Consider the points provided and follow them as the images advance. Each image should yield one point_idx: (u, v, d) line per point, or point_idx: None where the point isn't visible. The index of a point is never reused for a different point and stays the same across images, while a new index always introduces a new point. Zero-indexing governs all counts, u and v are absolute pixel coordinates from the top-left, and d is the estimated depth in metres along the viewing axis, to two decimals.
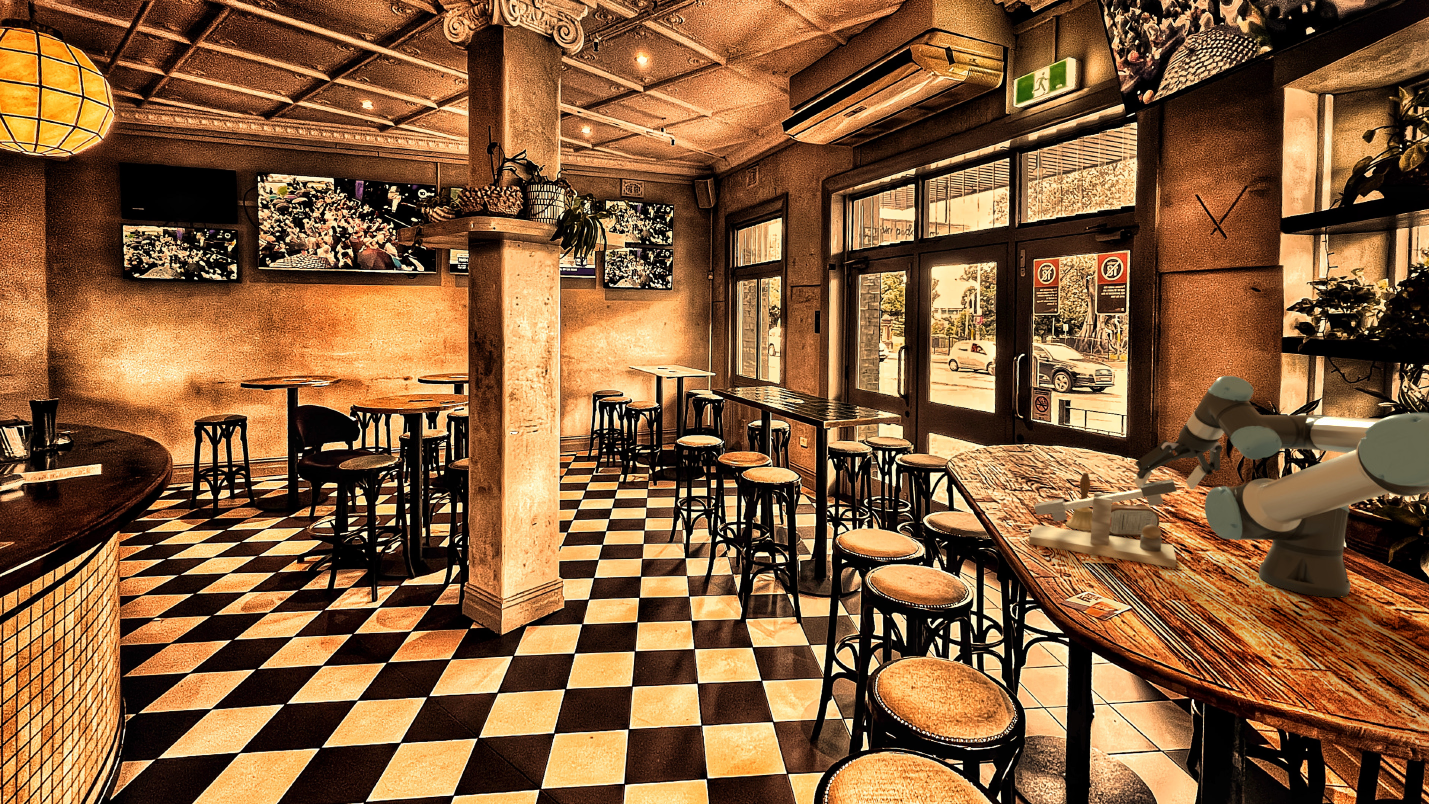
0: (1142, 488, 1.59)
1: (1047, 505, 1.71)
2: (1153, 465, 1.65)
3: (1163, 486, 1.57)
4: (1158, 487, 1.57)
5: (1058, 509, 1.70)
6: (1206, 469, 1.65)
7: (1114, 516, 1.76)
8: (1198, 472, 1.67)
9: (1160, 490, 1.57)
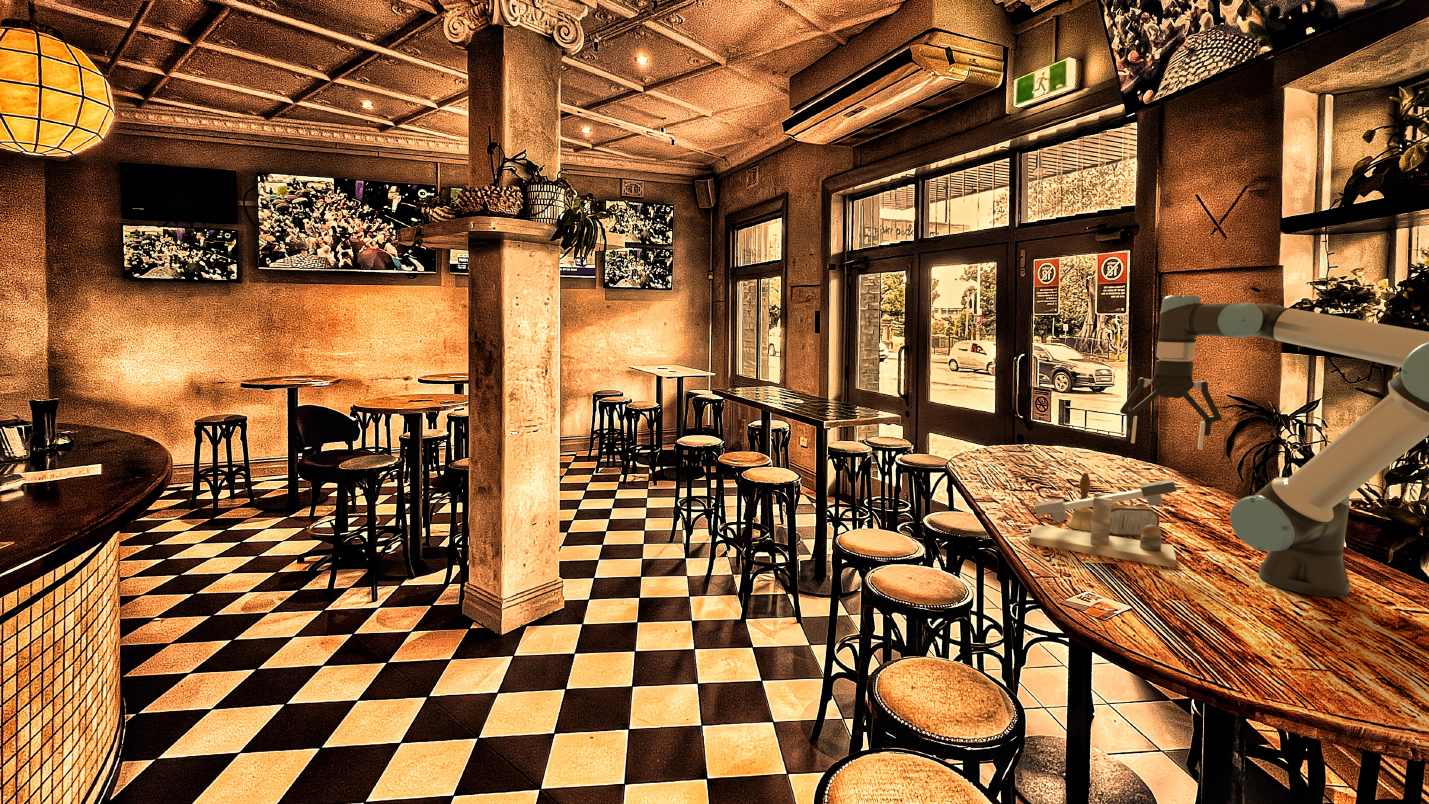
0: (1142, 488, 1.59)
1: (1047, 505, 1.71)
2: (1135, 407, 1.59)
3: (1163, 486, 1.57)
4: (1158, 487, 1.57)
5: (1058, 509, 1.70)
6: (1203, 417, 1.52)
7: (1114, 516, 1.76)
8: (1200, 426, 1.53)
9: (1160, 490, 1.57)
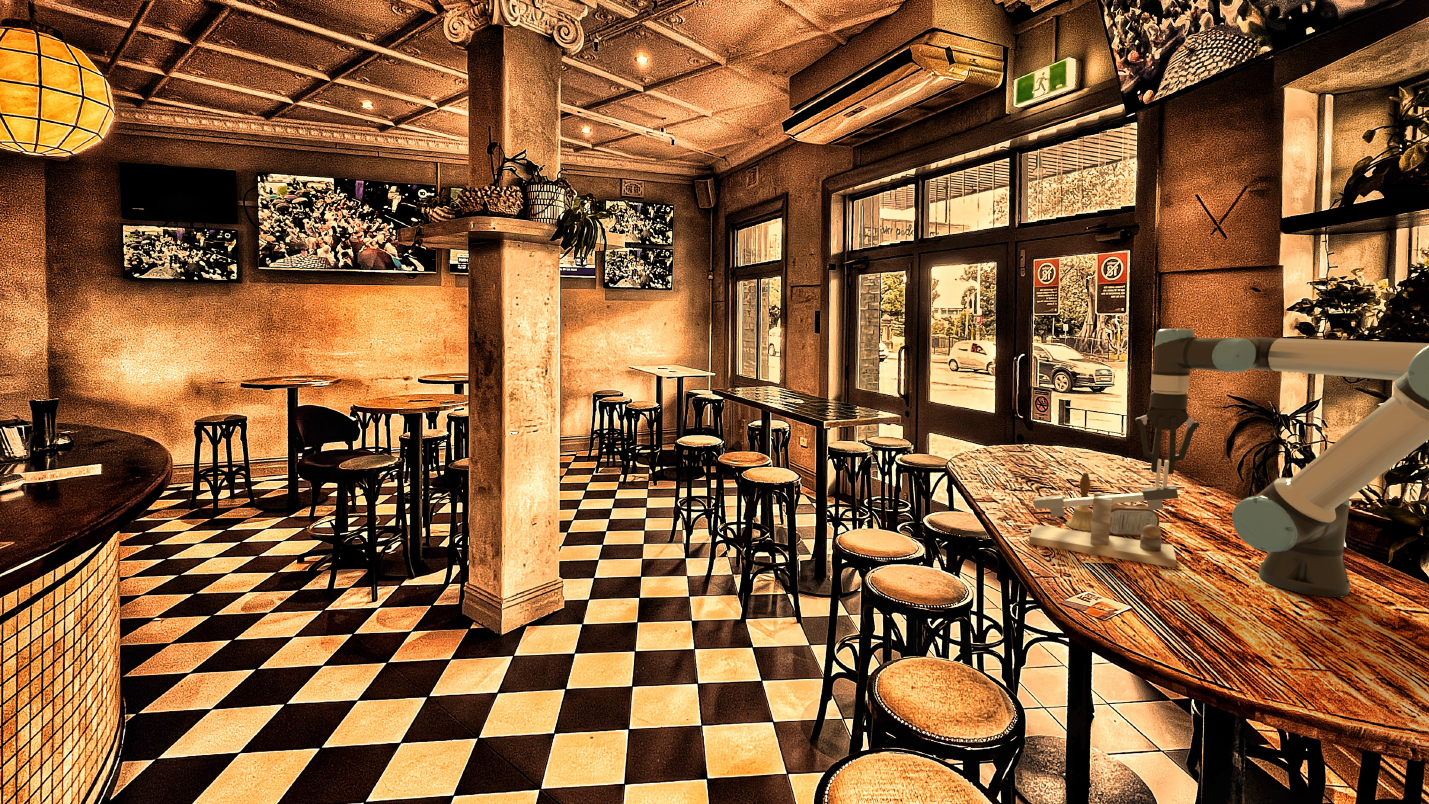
0: (1144, 492, 1.59)
1: (1046, 500, 1.71)
2: (1153, 450, 1.58)
3: (1165, 492, 1.57)
4: (1160, 492, 1.57)
5: (1057, 505, 1.70)
6: (1170, 454, 1.56)
7: (1114, 516, 1.76)
8: (1164, 464, 1.58)
9: (1162, 495, 1.57)
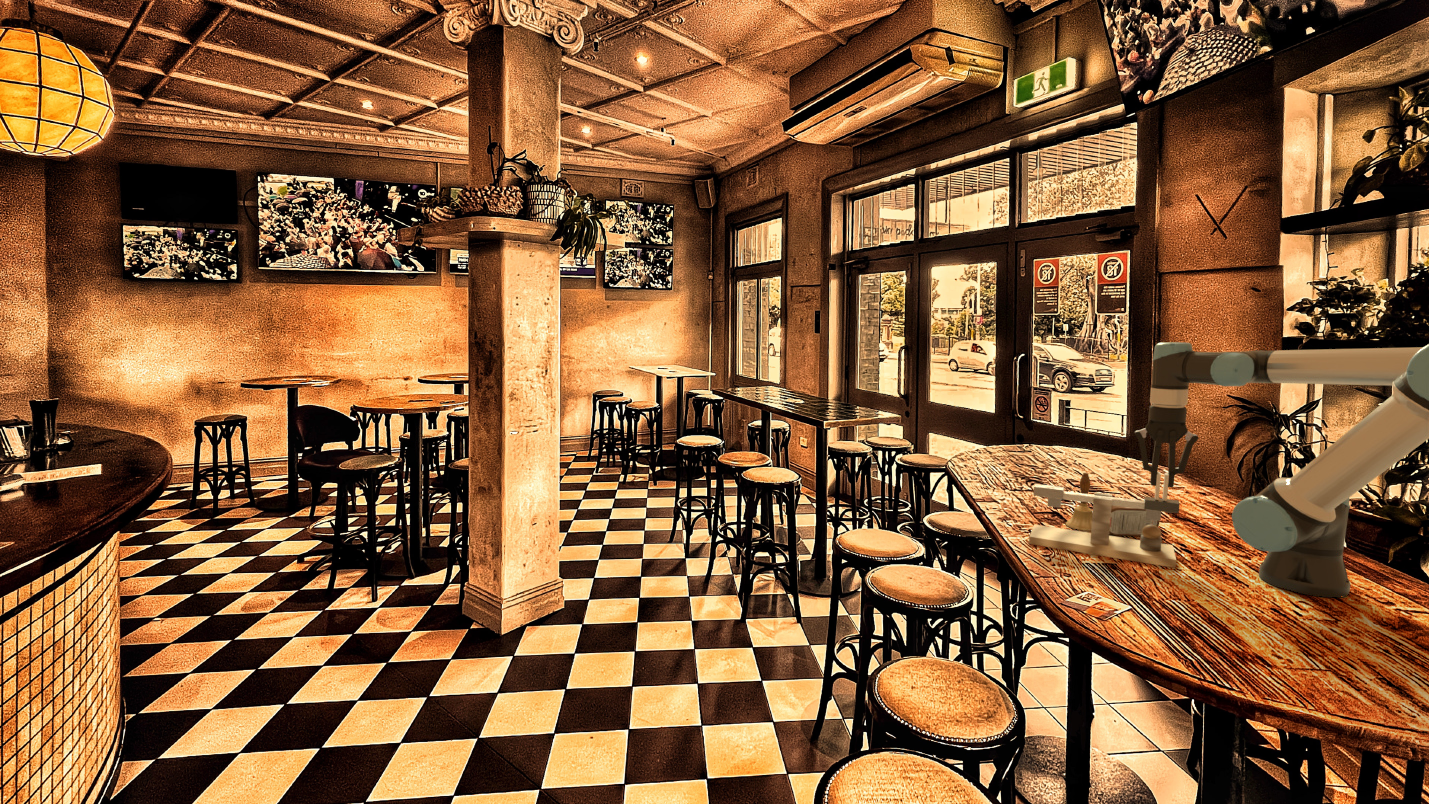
0: (1146, 501, 1.59)
1: (1047, 489, 1.71)
2: (1152, 463, 1.58)
3: (1167, 505, 1.57)
4: (1162, 504, 1.57)
5: (1056, 496, 1.70)
6: (1170, 468, 1.56)
7: (1114, 516, 1.76)
8: (1164, 478, 1.58)
9: (1163, 508, 1.57)
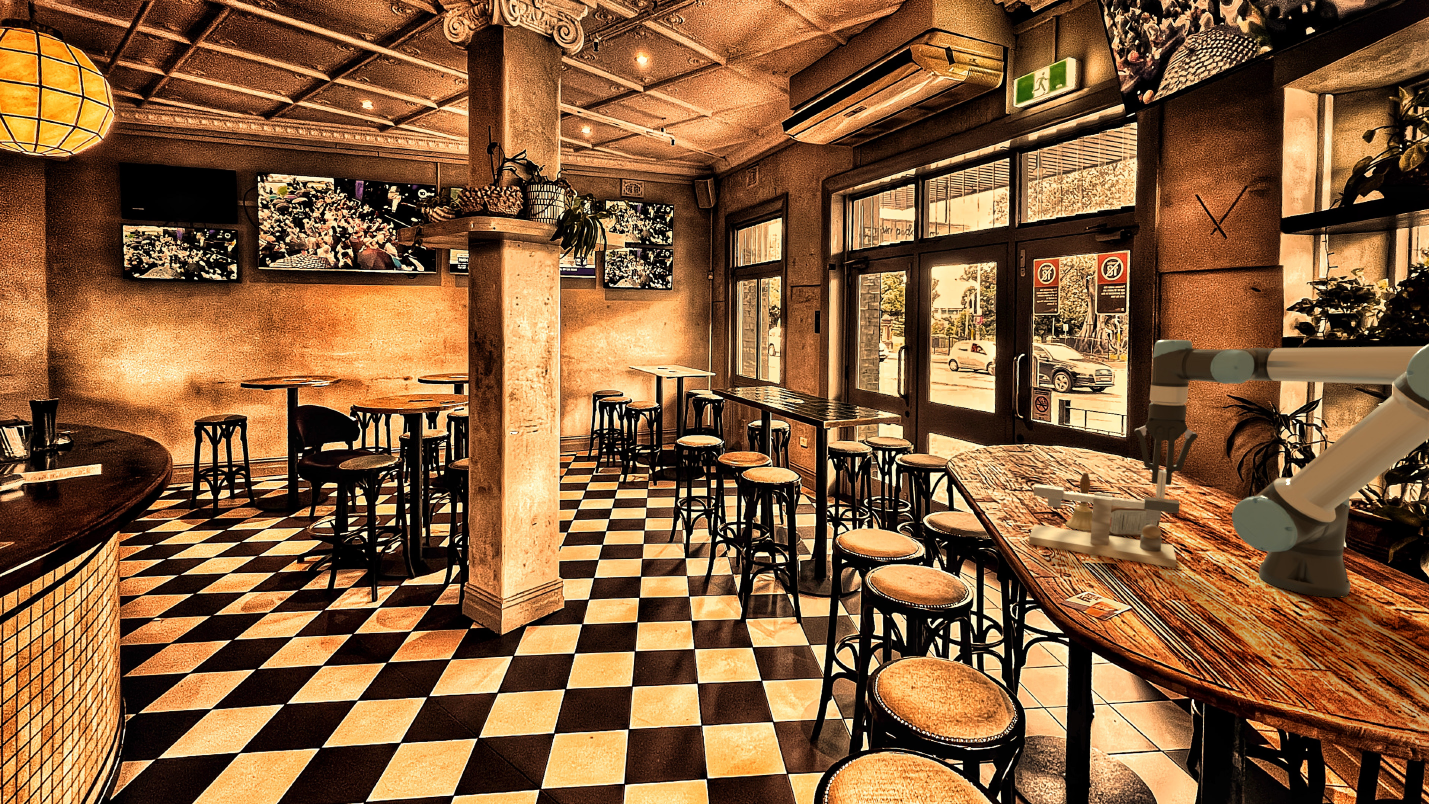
0: (1146, 501, 1.59)
1: (1047, 489, 1.71)
2: (1153, 461, 1.58)
3: (1167, 505, 1.57)
4: (1162, 504, 1.57)
5: (1056, 496, 1.70)
6: (1168, 465, 1.56)
7: (1114, 516, 1.76)
8: None
9: (1163, 508, 1.57)
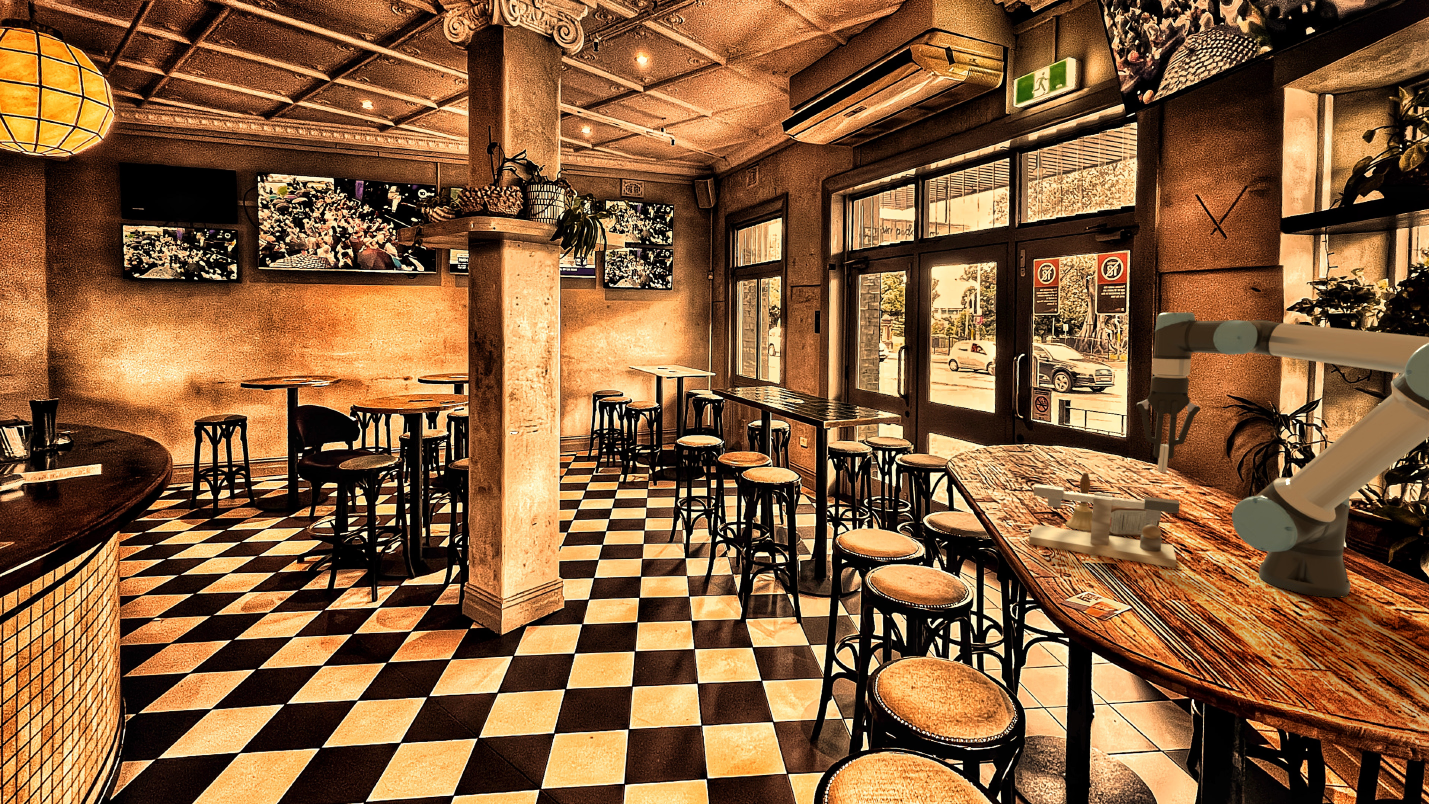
0: (1146, 501, 1.59)
1: (1047, 489, 1.71)
2: (1155, 434, 1.57)
3: (1167, 505, 1.57)
4: (1162, 504, 1.57)
5: (1056, 496, 1.70)
6: (1170, 439, 1.55)
7: (1114, 516, 1.76)
8: (1164, 449, 1.57)
9: (1163, 508, 1.57)
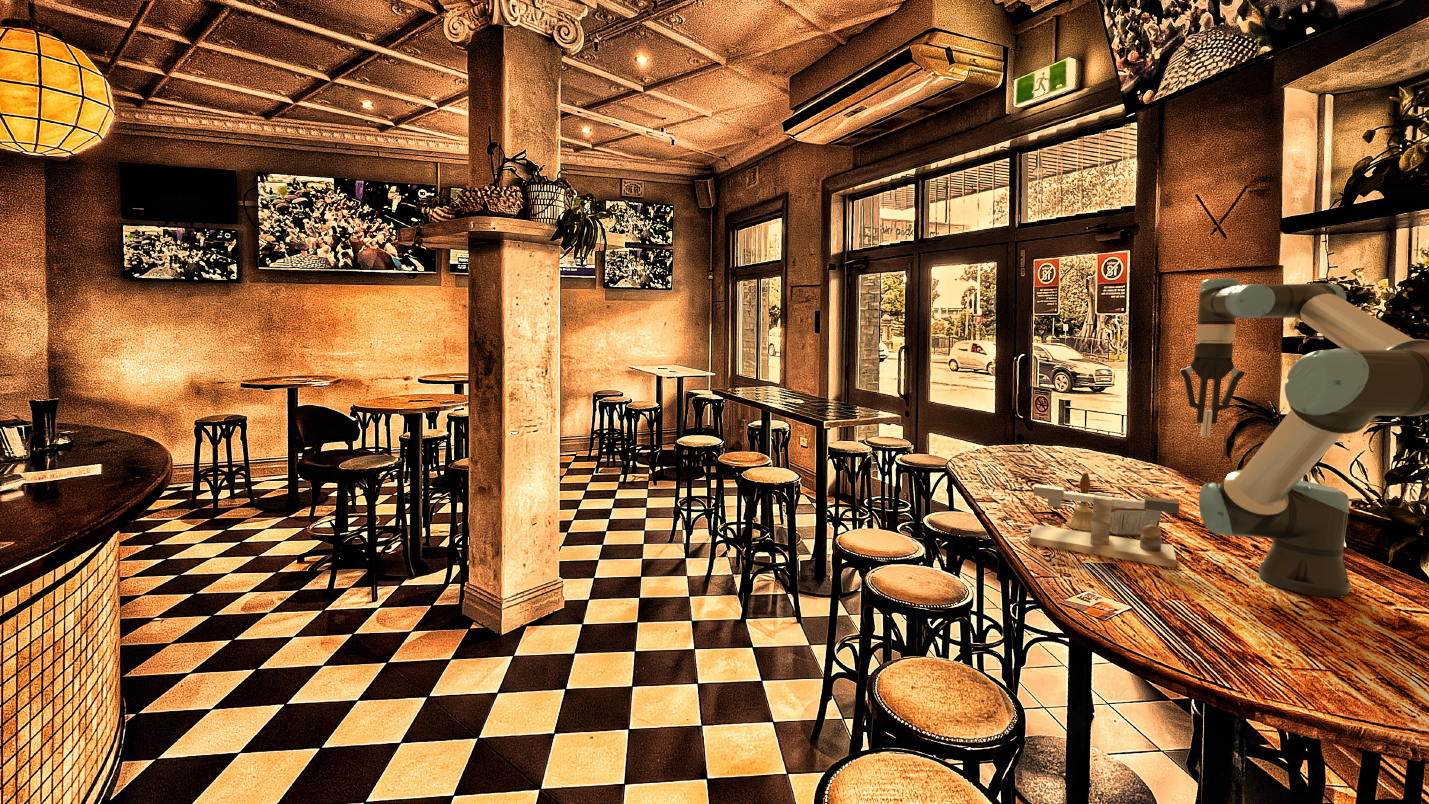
0: (1146, 501, 1.59)
1: (1047, 489, 1.71)
2: (1199, 400, 1.60)
3: (1167, 505, 1.57)
4: (1162, 504, 1.57)
5: (1056, 496, 1.70)
6: (1214, 404, 1.58)
7: (1114, 516, 1.76)
8: None
9: (1163, 508, 1.57)
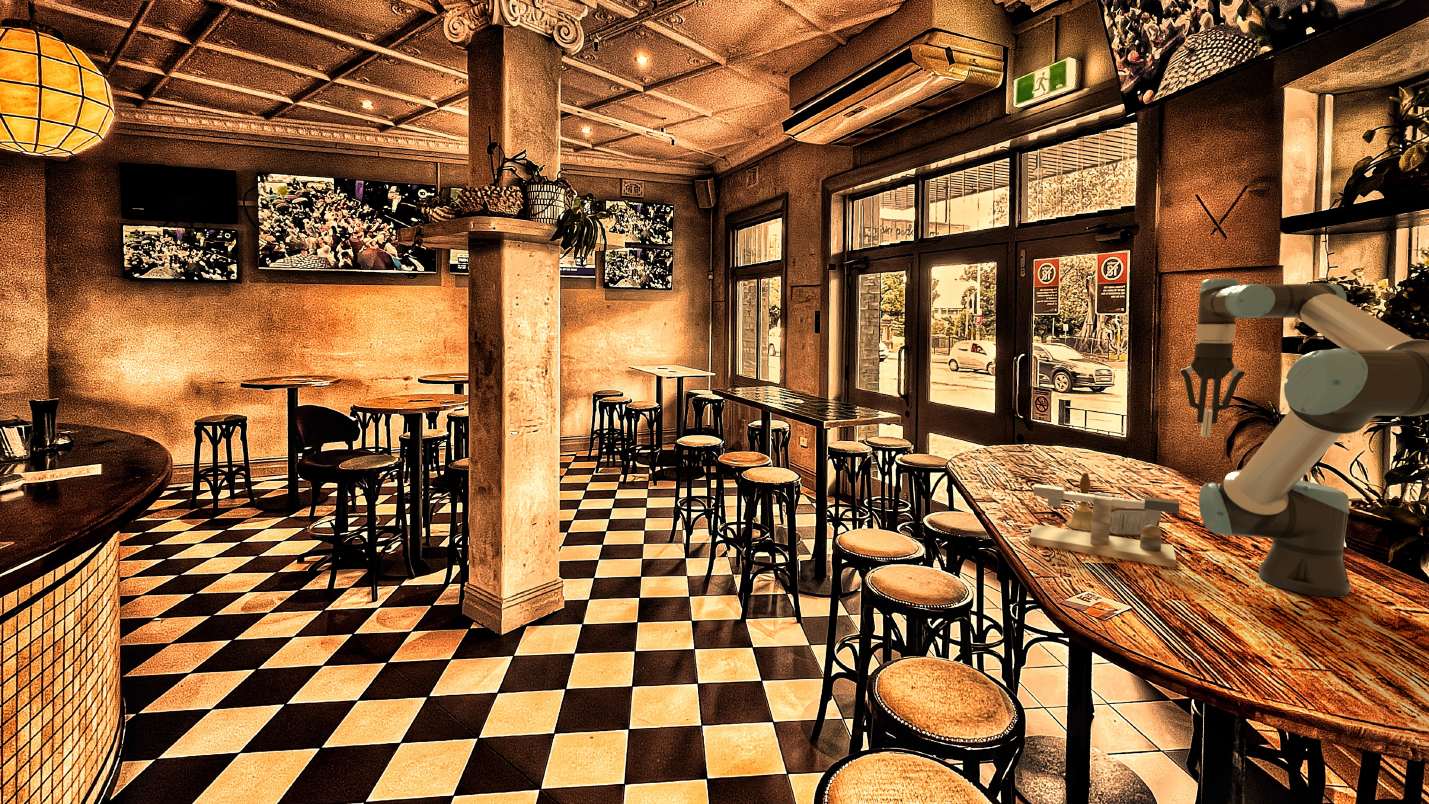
0: (1146, 501, 1.59)
1: (1047, 489, 1.71)
2: (1199, 400, 1.60)
3: (1167, 505, 1.57)
4: (1162, 504, 1.57)
5: (1056, 496, 1.70)
6: (1214, 404, 1.58)
7: (1114, 516, 1.76)
8: None
9: (1163, 508, 1.57)
